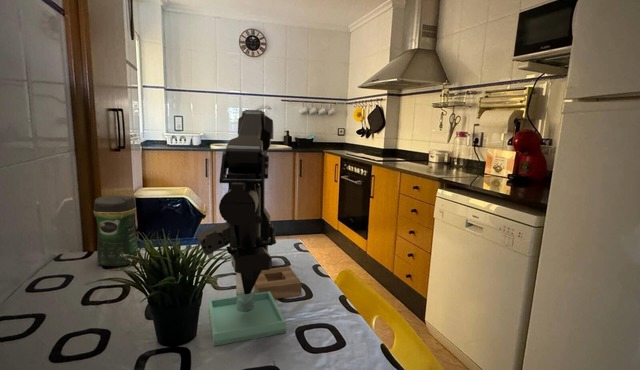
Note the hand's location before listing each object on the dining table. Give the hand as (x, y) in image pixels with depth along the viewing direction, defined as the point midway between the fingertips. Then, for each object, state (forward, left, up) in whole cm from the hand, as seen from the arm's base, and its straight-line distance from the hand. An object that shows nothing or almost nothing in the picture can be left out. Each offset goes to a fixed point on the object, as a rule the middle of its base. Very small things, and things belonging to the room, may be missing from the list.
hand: (245, 288), depth 68 cm
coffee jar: (-41, -28, -7) cm, 50 cm away
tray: (0, 0, -7) cm, 7 cm away
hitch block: (-12, +9, -7) cm, 16 cm away
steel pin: (0, 0, -4) cm, 4 cm away
